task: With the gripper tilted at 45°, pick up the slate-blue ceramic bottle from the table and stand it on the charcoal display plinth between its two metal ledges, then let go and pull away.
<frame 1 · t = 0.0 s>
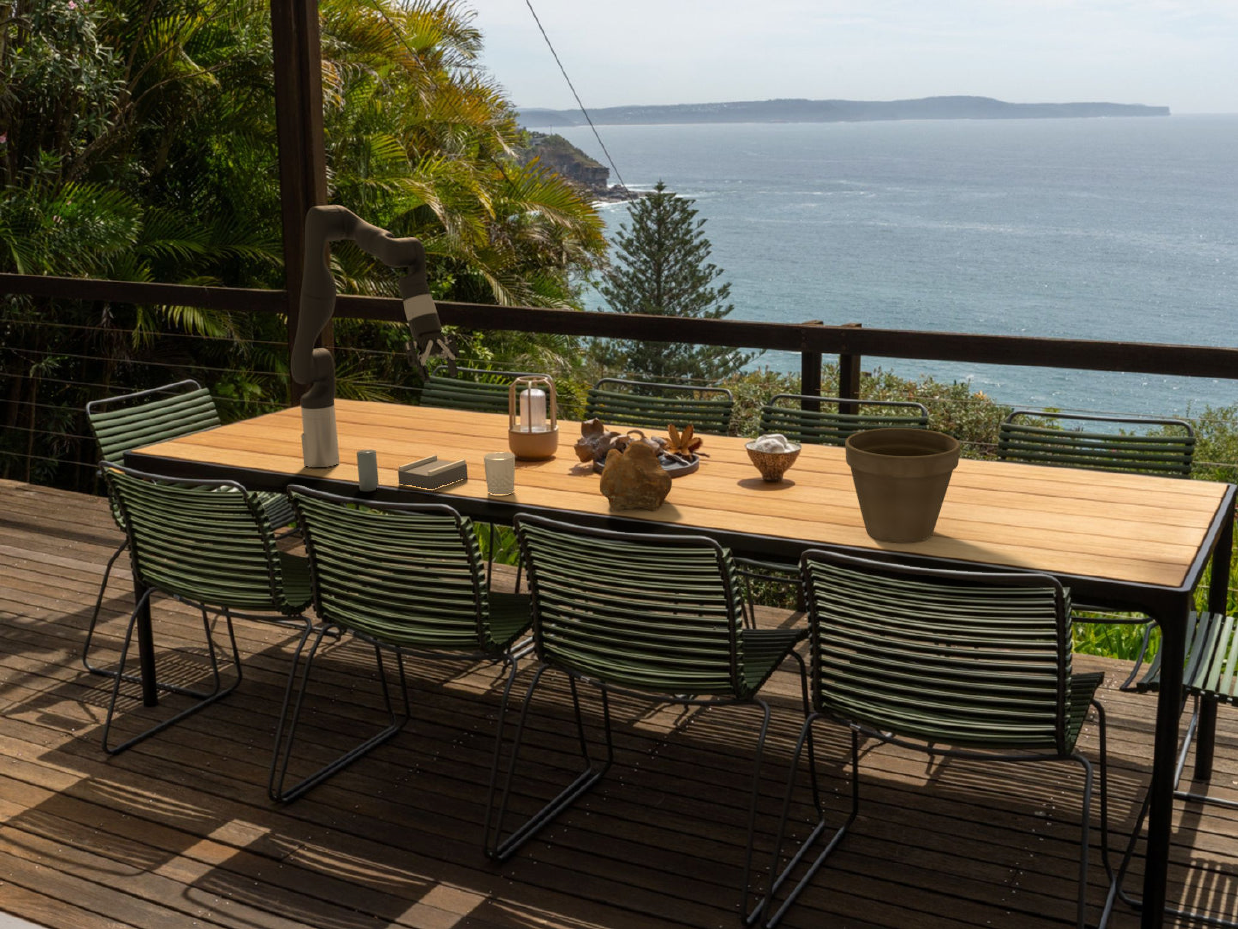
hand: (440, 378, 296), 31 cm above the table, tool tilted 20°, fingers open, 8 cm apart
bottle: (369, 488, 317), on the table
plant pot: (898, 534, 270), on the table
rough brown rock: (640, 505, 296), on the table
display plinth: (433, 481, 321), on the table
white cup: (501, 493, 310), on the table
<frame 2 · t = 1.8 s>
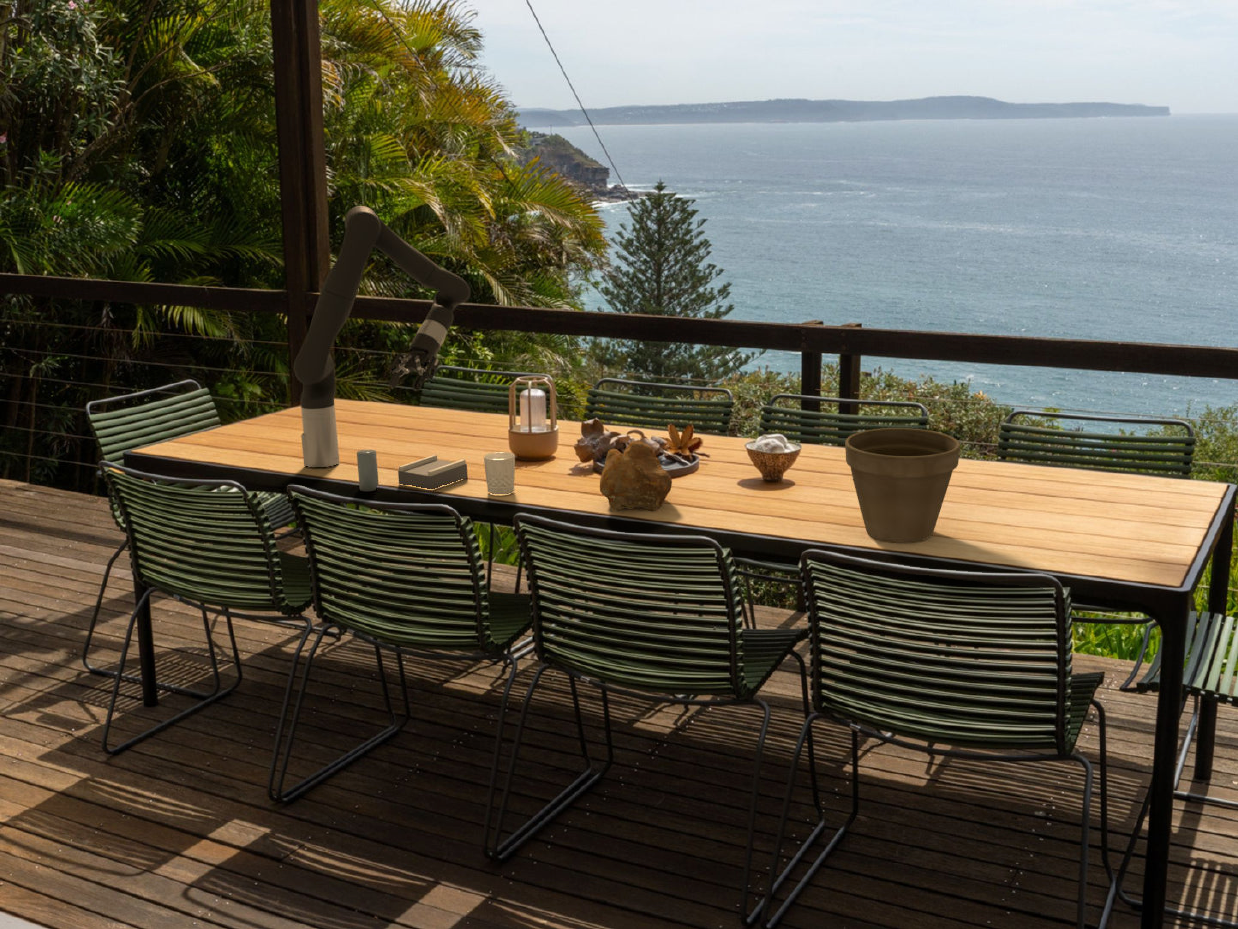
hand: (402, 388, 325), 24 cm above the table, tool tilted 45°, fingers open, 8 cm apart
nothing on the table moved.
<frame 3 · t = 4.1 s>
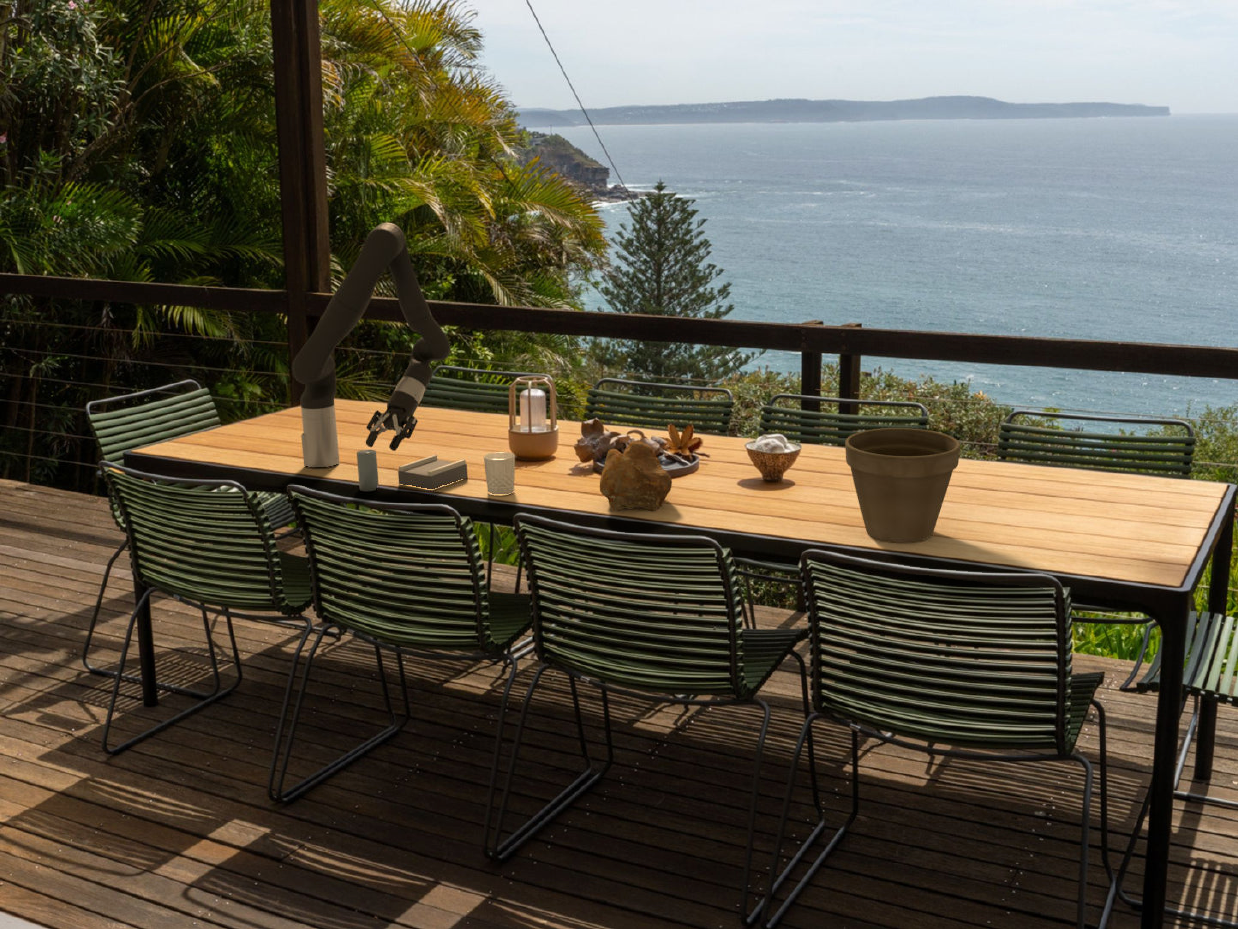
hand: (380, 447, 318), 10 cm above the table, tool tilted 45°, fingers open, 8 cm apart
nothing on the table moved.
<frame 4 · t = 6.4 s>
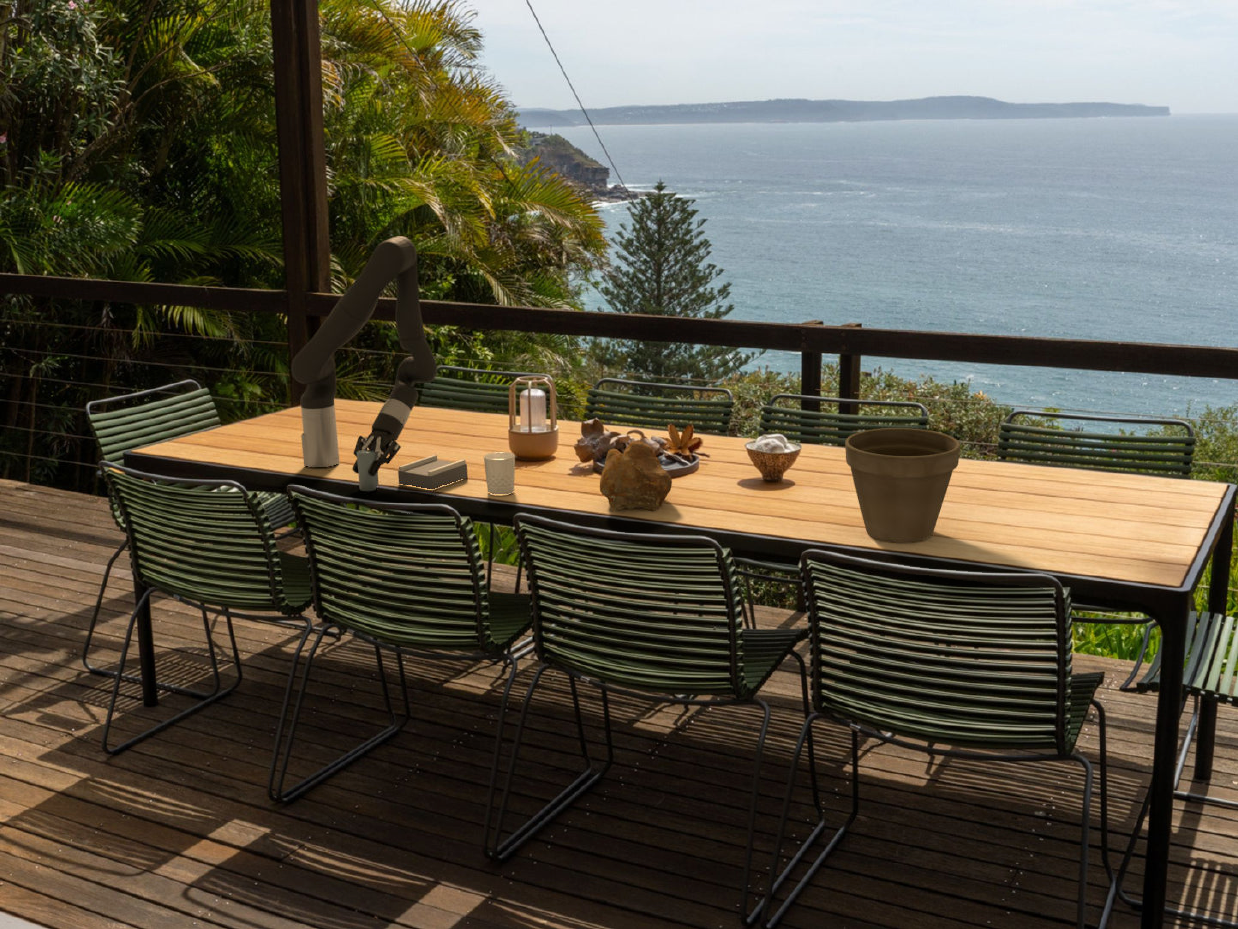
hand: (363, 473, 314), 5 cm above the table, tool tilted 45°, fingers closed on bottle, 5 cm apart
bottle: (369, 488, 317), on the table, touching gripper
everything else where it was.
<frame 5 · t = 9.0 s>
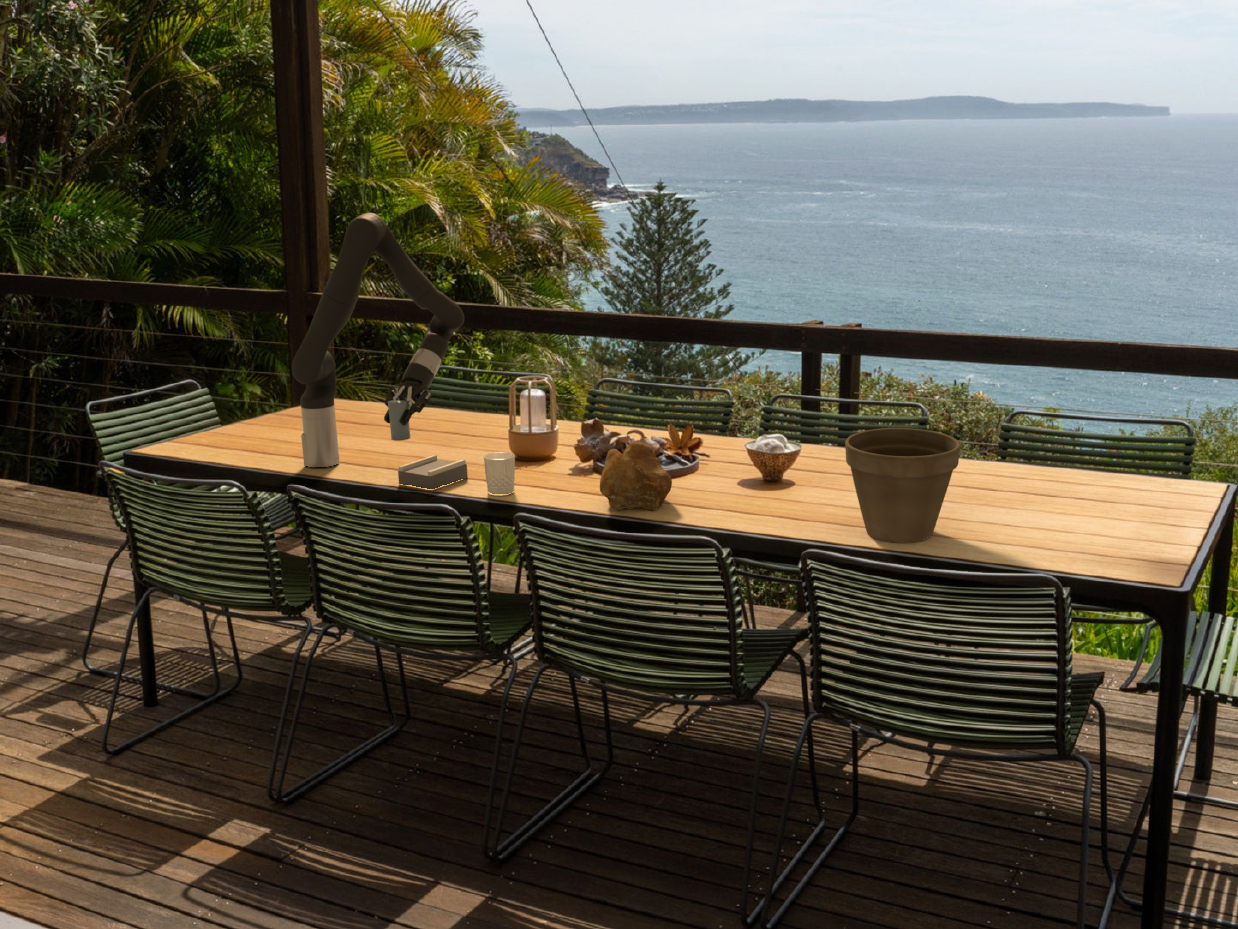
hand: (394, 422, 313), 18 cm above the table, tool tilted 45°, fingers closed on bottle, 5 cm apart
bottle: (400, 438, 315), point 13 cm above the table, touching gripper
everything else where it was.
when the fingers open (10 cm above the table, at t = 11.8 s): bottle drops 1 cm, resting on display plinth.
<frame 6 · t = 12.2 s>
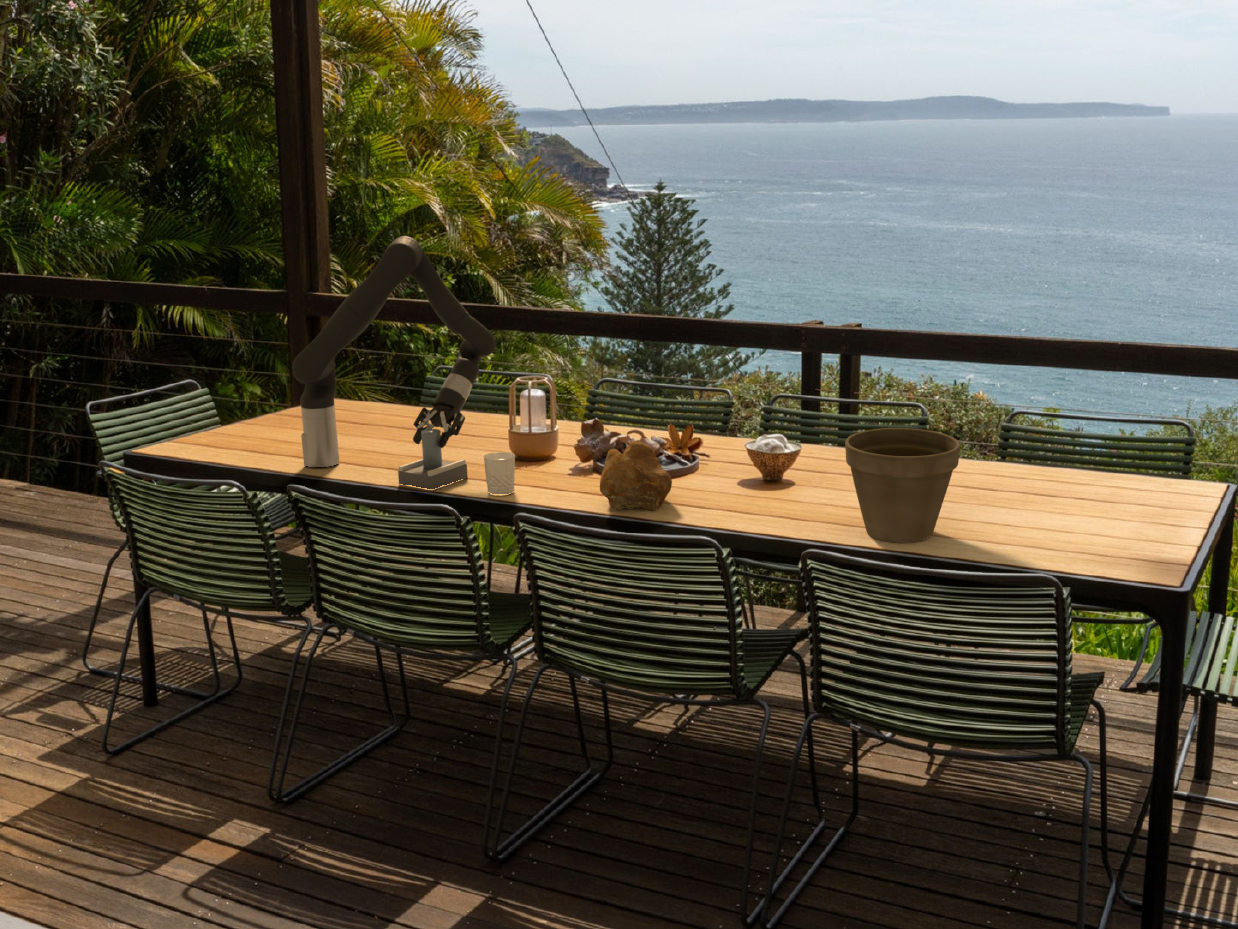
hand: (427, 444, 318), 11 cm above the table, tool tilted 45°, fingers open, 8 cm apart
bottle: (432, 467, 320), point 4 cm above the table, touching display plinth
everything else where it was.
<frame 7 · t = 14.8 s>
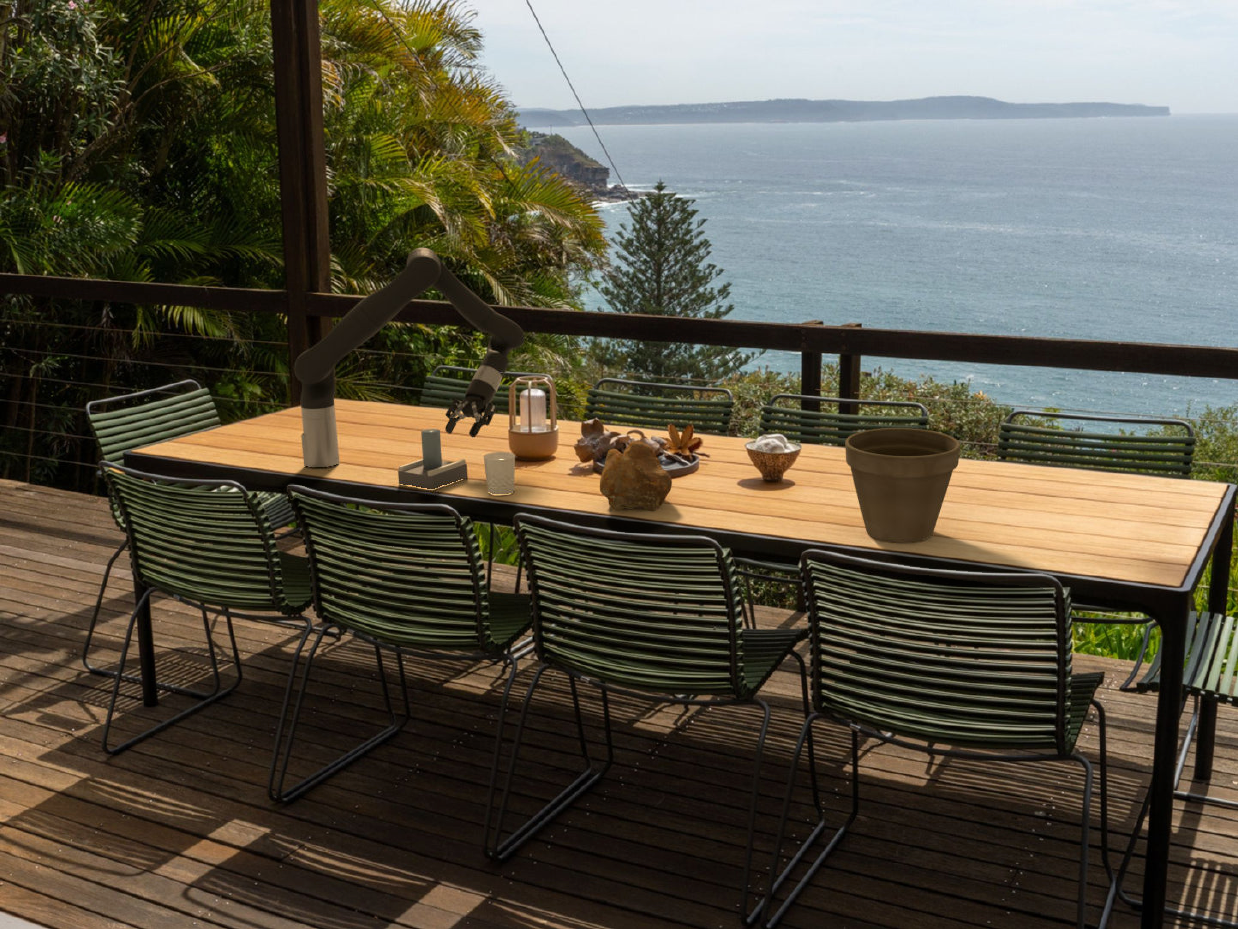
hand: (459, 434, 328), 11 cm above the table, tool tilted 45°, fingers open, 8 cm apart
nothing on the table moved.
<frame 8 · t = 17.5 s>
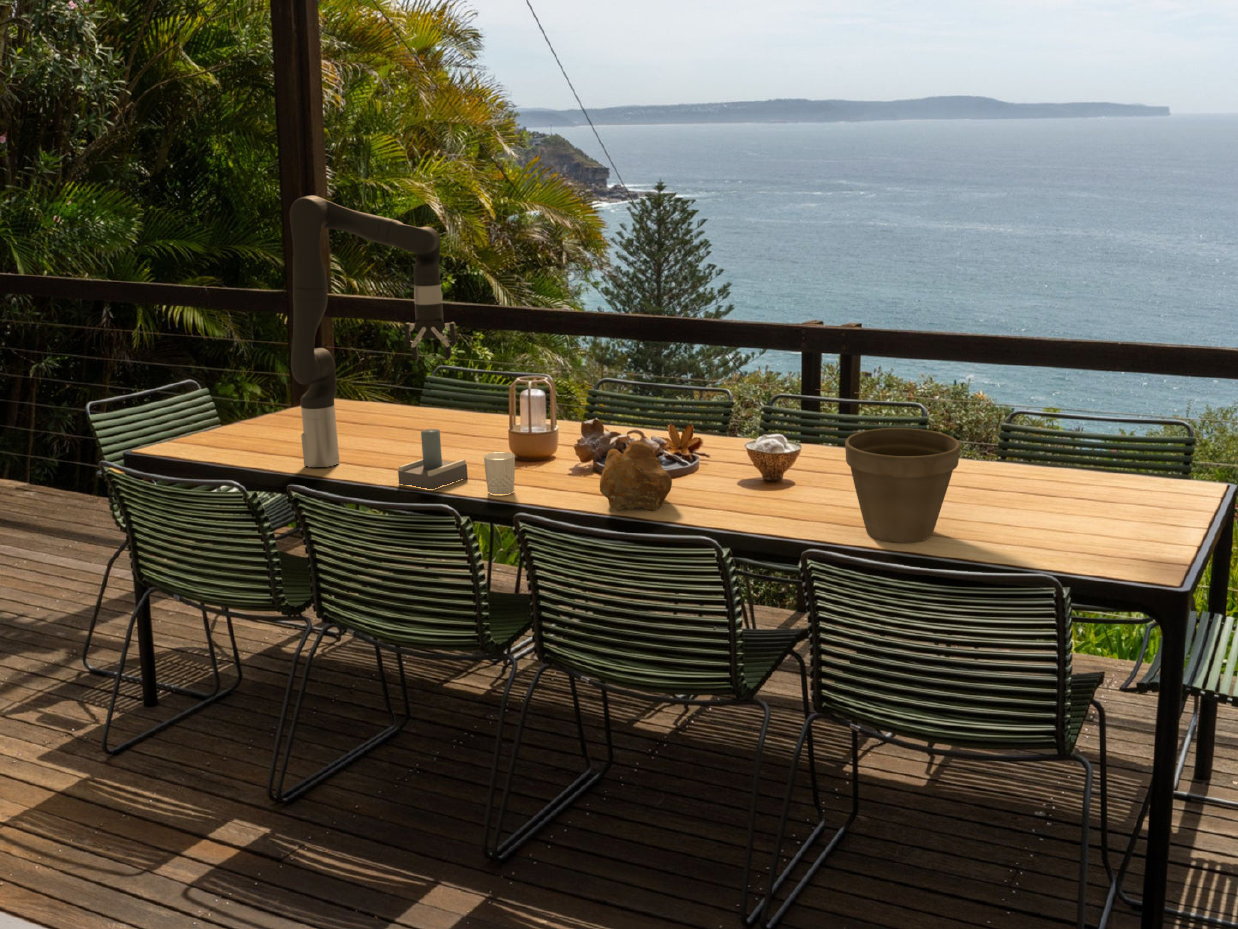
hand: (432, 360, 330), 30 cm above the table, tool pointing down, fingers open, 8 cm apart
nothing on the table moved.
at the end: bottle inside the target area on the display plinth (0.1 cm from its centre), point 4.0 cm above the display plinth's base; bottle tilted 0°; the gripper is holding nothing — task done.
